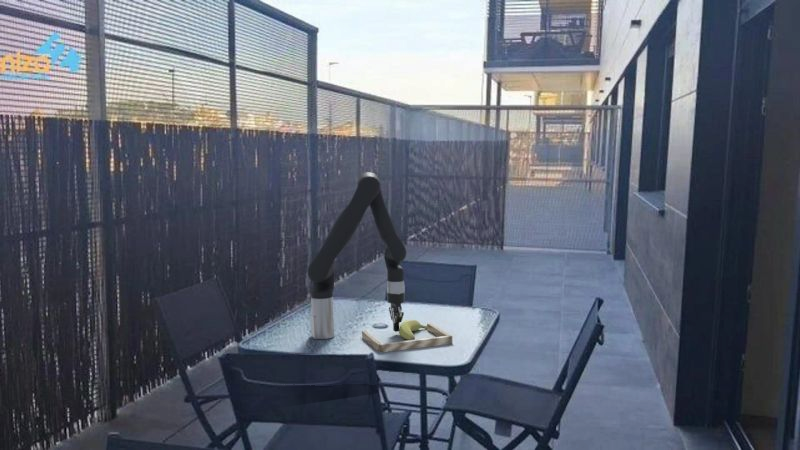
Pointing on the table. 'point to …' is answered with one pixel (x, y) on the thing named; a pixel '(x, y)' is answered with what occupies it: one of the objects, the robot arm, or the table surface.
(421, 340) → the wooden rimmed tray
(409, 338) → the banana
